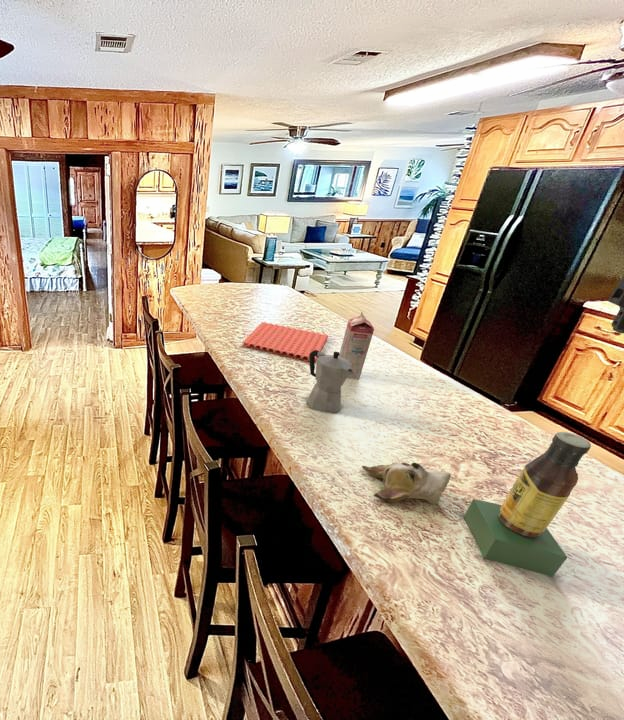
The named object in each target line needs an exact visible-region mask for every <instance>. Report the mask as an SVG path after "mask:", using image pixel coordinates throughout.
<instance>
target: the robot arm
mask: <svg viewBox="0 0 624 720" xmlns="http://www.w3.org/2000/svg"><path fill="white" fill-rule="evenodd" d="M607 300H608V302H609V303H611V304H613V305H615V306H618V307H619V310H618V312H617V313H616V315H615V317H614V319H613V320H612V322H611V328H612V330H613V331H614V332H616V333H618V334H624V275H623V276H622V277H621V278H620V281H619V282H618V284H617V285H616V287H615V288H614V290H613V291H612V293H611V294H610V296H609V297H608V299H607Z"/></svg>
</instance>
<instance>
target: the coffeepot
mask: <svg viewBox="0 0 624 720" xmlns="http://www.w3.org/2000/svg"><path fill="white" fill-rule="evenodd" d="M339 354H340V351H333V354H326V353H324V352H323V351H321V352H319V351H318V350H314V351H312V352H311V353H310V354H309V359H310V361H309V372H310V375H311V376H312V377H314V378H315V380H316V383H315V384H314V385H313V388H312V389H311V392H310V394H309V396H308V398H307V401H306V404H307V406H308V407H309V408H310V409H311V410H312V411H317V412H323V413H328V414H329V413H330V414H337V413H338V412H339V410H340V409H341V400H342V390H341V389H342V386H343V385H344V384H345V382H346V380H347V379H348V378H347V377H348V376H350V375H351V374H354V372H355V371H354V370H353V369H352V368H351V367H352V365H353V364H352V363H350V362H349V361H348V360H347V359H345V358H342V357H339ZM315 356H316V357H317V361H316V365H315V363H314V362H315Z"/></svg>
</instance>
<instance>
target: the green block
mask: <svg viewBox="0 0 624 720" xmlns="http://www.w3.org/2000/svg"><path fill="white" fill-rule="evenodd" d="M501 506H502V504H498V503H494V502H489V501H485V500H480V499H476V498H473V499H472V501H471V503H470V504H469V506H468V508H467V510H466V512H465V514H464V515H463V519H464V521H465V524H466V525H467V527H468V529H469V531H470V533H471V535H472V537H473V539H474V541H475V544H476V545H477V548H478V550H479V551H480V554H481V556H482V558H483V559H484V560H487V561H490V562H495V563H499V564H502V565H507V566H510V567H514V568H517V569H522V570H525V571H529V572H533V573H536V574H541V575H545V576H549V577H554V576H555V575H556V574H557V572H558V571H559V570H560V568H561V567H562V566H563V564H564V563H565V561H566V560H567V559H568V555H566V553H565V552H564V550H563V548H562V547H561V546H560V545H559V543H558V542H557V540H556V539H555V537H554V536H553V534H552V533H551V532H550V530H549V529H548V527H547V528H546V530H545V531H544V532H542V533H541V534H540V535H539V536H537V537H527V536H524V535H521V534H518V533H516V532H514V531H512V530H511V529H509V528H508V527H507V526H505V525H504V524H503V523H502V522H501V520H500V518H499V514H498V513H499V511H500V508H501Z"/></svg>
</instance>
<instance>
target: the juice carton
mask: <svg viewBox="0 0 624 720" xmlns="http://www.w3.org/2000/svg"><path fill="white" fill-rule="evenodd" d="M374 332H375V327H374V326H373V324H372V323H371V322H370V321H369V319H367V318H366V316H365V314H364V312H363V311H360V314H359V316H355V317H351V318H349V319H348V320H347V323H346V327H345V331H344V335H343V339H342V342H341V347H340V350H339V353H340V354H339V356H338V357H342V358H345V359H347V360H348V361H349V362H350V363H352V364H353V365H352V367H351V368H352V369H353V370H354V371H355V372H354V374H351V375H350V376H348V377H347V378H346V379H351V380H360V377H361V375H362V371H363V368H364V364H365V361H366V358H367V355H368V351H369V349H370V344H371V342H372V338H373V335H374Z"/></svg>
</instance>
